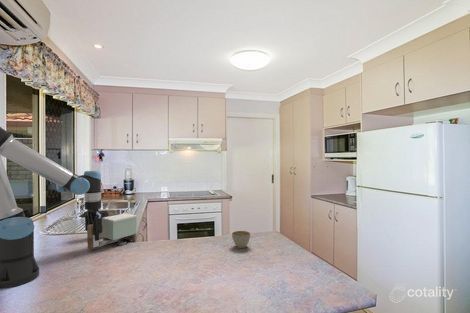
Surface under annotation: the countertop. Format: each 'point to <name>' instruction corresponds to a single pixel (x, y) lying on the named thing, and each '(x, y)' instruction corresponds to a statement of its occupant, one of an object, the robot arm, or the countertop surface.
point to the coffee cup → (104, 214)
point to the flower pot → (241, 238)
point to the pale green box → (120, 227)
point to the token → (122, 242)
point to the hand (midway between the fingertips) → (93, 245)
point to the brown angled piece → (90, 238)
